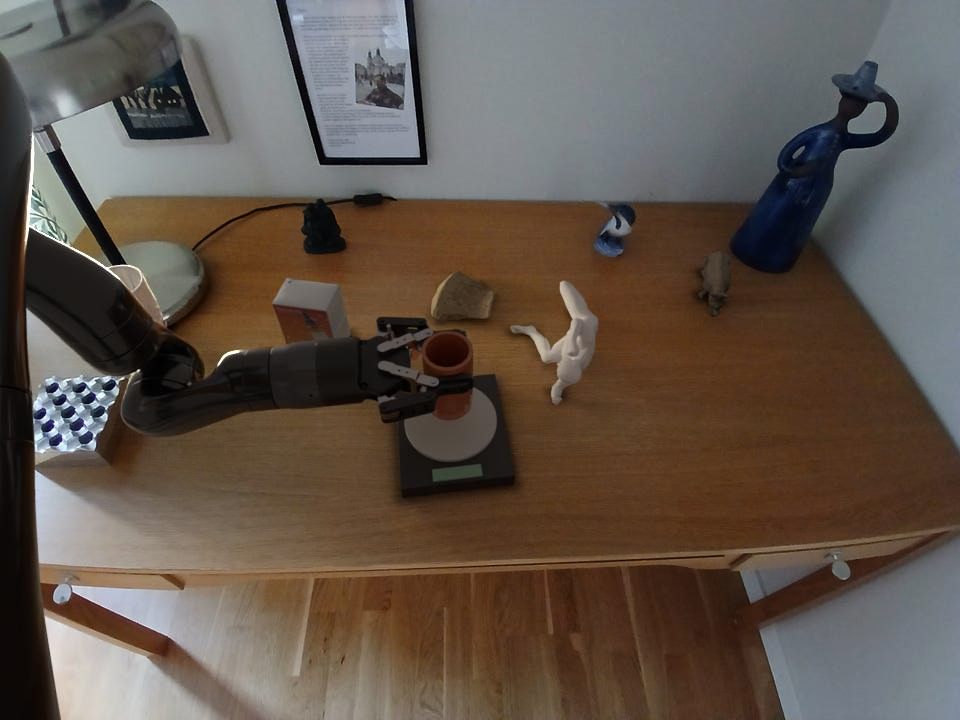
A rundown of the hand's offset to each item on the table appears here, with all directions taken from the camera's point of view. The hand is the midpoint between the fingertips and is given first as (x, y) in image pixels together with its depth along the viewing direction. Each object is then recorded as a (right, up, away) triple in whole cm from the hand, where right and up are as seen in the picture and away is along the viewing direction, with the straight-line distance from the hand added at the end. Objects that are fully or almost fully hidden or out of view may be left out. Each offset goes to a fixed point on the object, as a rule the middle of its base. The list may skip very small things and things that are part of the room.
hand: (469, 359), depth 64 cm
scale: (-2, -10, +11) cm, 15 cm away
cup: (-3, -5, +6) cm, 8 cm away
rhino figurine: (+39, +10, +28) cm, 49 cm away
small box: (-23, +2, +21) cm, 31 cm away
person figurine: (+14, 0, +19) cm, 24 cm away
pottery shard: (-1, +9, +27) cm, 29 cm away
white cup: (-50, +4, +22) cm, 55 cm away
